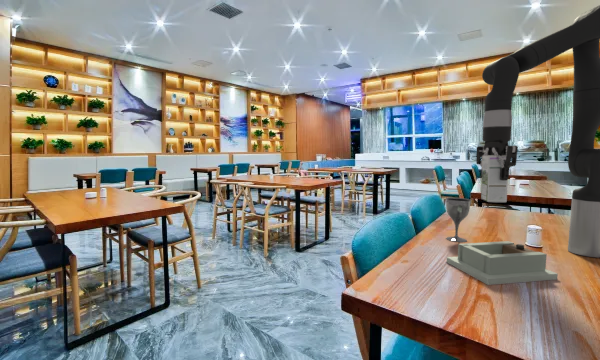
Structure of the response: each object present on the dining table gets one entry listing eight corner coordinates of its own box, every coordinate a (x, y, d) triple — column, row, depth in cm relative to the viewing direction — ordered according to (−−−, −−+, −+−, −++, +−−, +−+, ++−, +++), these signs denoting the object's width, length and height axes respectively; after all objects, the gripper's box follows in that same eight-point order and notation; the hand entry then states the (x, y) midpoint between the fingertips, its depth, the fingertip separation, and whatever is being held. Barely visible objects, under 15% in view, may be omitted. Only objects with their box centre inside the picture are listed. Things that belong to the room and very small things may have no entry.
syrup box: (507, 202, 97) (510, 154, 95) (486, 202, 98) (488, 155, 96) (499, 199, 102) (502, 154, 101) (479, 199, 103) (481, 154, 102)
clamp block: (514, 257, 91) (515, 241, 91) (537, 267, 84) (538, 248, 84) (501, 258, 91) (503, 241, 90) (524, 268, 83) (525, 249, 83)
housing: (506, 258, 96) (507, 239, 96) (557, 279, 80) (559, 256, 80) (446, 262, 93) (447, 242, 92) (487, 284, 77) (489, 261, 76)
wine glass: (469, 238, 118) (471, 198, 116) (467, 243, 111) (469, 201, 110) (446, 235, 122) (447, 197, 120) (442, 240, 115) (444, 199, 114)
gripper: (527, 124, 91) (524, 181, 93) (490, 127, 106) (487, 177, 107) (505, 123, 90) (501, 181, 92) (470, 127, 104) (467, 177, 106)
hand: (494, 179), depth 99 cm, fingers closed on syrup box, 7 cm apart
